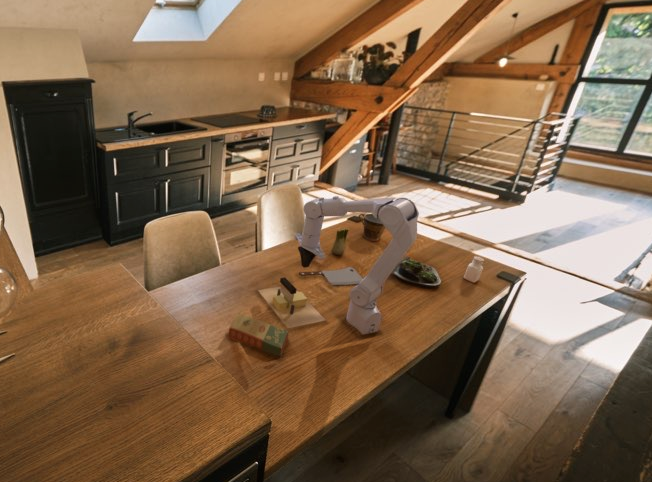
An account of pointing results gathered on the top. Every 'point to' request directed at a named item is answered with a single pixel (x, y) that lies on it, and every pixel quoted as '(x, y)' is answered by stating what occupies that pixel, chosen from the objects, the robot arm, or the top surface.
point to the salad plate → (416, 273)
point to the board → (292, 310)
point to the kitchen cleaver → (338, 276)
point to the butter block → (297, 300)
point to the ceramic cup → (372, 227)
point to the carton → (258, 334)
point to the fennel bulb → (340, 242)
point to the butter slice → (279, 303)
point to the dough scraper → (287, 289)
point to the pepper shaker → (474, 269)
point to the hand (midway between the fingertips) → (305, 266)
